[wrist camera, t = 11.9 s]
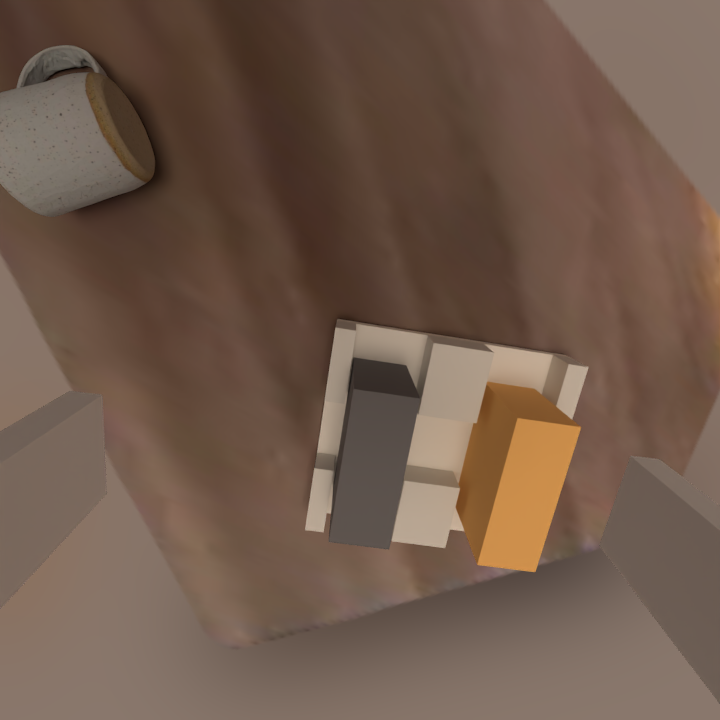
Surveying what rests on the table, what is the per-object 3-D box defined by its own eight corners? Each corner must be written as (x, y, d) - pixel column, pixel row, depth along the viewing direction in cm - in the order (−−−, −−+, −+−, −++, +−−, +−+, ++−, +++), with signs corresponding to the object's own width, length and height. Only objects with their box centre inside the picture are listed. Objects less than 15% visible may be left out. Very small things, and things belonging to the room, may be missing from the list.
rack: (337, 318, 37) (335, 327, 33) (565, 354, 38) (588, 367, 34) (309, 504, 42) (305, 529, 38) (513, 531, 43) (528, 558, 39)
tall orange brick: (483, 381, 37) (517, 417, 30) (534, 388, 38) (581, 427, 30) (453, 502, 41) (477, 564, 33) (500, 509, 41) (535, 572, 33)
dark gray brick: (353, 357, 37) (353, 389, 29) (406, 365, 37) (420, 398, 29) (333, 483, 40) (328, 542, 32) (382, 489, 40) (389, 549, 32)
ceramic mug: (175, 187, 34) (124, 170, 26) (79, 221, 34) (2, 214, 27) (115, 37, 31) (40, -28, 24) (12, 76, 32) (-92, 24, 24)
